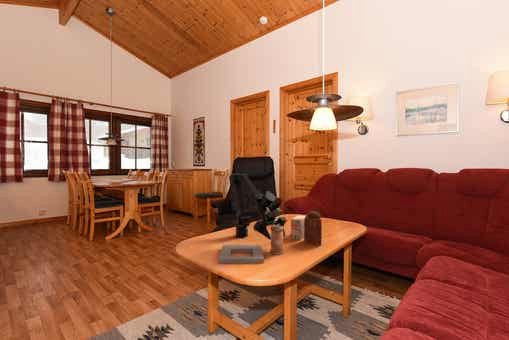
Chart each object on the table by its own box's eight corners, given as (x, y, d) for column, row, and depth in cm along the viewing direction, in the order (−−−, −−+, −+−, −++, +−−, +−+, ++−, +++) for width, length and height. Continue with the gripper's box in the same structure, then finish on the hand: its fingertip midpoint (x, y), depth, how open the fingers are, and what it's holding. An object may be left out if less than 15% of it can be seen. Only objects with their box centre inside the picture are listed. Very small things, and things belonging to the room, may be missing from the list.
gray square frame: (222, 248, 132) (222, 245, 132) (260, 248, 133) (260, 244, 133) (219, 263, 113) (219, 258, 113) (263, 262, 114) (263, 258, 114)
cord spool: (267, 253, 126) (268, 227, 126) (273, 249, 132) (273, 224, 132) (280, 255, 123) (281, 229, 123) (285, 251, 129) (285, 226, 129)
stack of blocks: (302, 230, 170) (302, 212, 169) (311, 232, 166) (311, 213, 166) (290, 238, 151) (290, 218, 151) (300, 240, 148) (300, 219, 148)
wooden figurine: (325, 243, 142) (326, 212, 142) (319, 246, 137) (320, 213, 137) (307, 239, 150) (307, 209, 150) (301, 241, 146) (301, 210, 145)
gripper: (256, 205, 125) (270, 232, 117) (284, 202, 136) (299, 226, 127) (247, 218, 132) (260, 244, 123) (275, 214, 143) (288, 238, 134)
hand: (277, 238), depth 127 cm, fingers open, 9 cm apart
